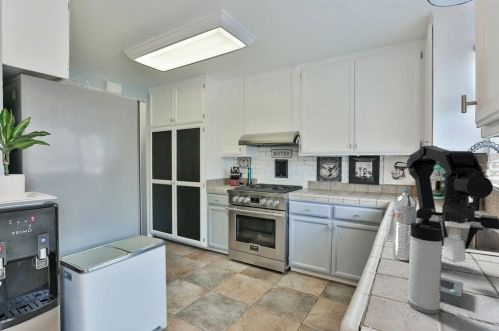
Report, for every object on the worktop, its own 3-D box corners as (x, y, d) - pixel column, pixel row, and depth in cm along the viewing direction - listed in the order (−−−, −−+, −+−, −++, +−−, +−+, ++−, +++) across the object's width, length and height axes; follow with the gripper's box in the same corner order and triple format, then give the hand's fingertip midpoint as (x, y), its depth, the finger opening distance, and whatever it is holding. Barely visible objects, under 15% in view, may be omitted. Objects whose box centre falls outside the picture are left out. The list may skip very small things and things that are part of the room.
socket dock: (422, 280, 75) (423, 271, 75) (462, 291, 69) (463, 281, 69) (416, 293, 68) (416, 282, 68) (460, 306, 61) (461, 294, 61)
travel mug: (400, 300, 64) (403, 220, 64) (425, 299, 64) (428, 220, 64) (418, 315, 58) (422, 227, 57) (446, 314, 58) (449, 227, 58)
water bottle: (416, 263, 88) (418, 191, 88) (393, 259, 91) (396, 190, 91) (412, 257, 95) (415, 189, 94) (391, 253, 97) (394, 188, 97)
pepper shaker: (441, 257, 76) (443, 226, 76) (452, 257, 77) (454, 225, 77) (454, 262, 73) (456, 229, 72) (466, 262, 73) (467, 229, 73)
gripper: (413, 192, 75) (411, 245, 75) (503, 200, 62) (500, 263, 63) (420, 190, 83) (418, 237, 83) (500, 196, 71) (498, 252, 71)
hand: (454, 246), depth 75 cm, fingers closed on pepper shaker, 5 cm apart
